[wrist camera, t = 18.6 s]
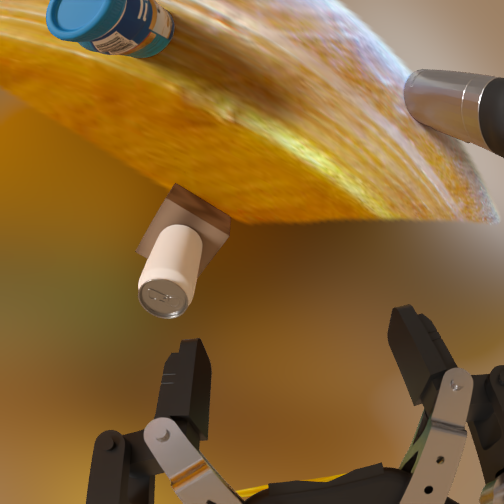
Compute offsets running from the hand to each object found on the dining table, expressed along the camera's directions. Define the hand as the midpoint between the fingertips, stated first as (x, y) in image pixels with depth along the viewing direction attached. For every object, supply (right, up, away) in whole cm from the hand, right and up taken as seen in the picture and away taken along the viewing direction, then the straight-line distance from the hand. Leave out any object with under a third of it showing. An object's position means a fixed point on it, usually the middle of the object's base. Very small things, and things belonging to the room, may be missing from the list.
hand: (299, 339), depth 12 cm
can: (-12, +5, +30) cm, 33 cm away
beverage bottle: (-16, +33, +19) cm, 42 cm away
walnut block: (-12, +8, +35) cm, 38 cm away
